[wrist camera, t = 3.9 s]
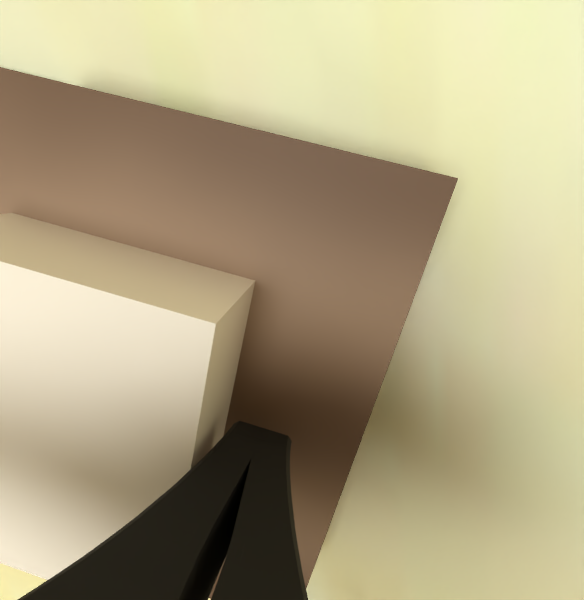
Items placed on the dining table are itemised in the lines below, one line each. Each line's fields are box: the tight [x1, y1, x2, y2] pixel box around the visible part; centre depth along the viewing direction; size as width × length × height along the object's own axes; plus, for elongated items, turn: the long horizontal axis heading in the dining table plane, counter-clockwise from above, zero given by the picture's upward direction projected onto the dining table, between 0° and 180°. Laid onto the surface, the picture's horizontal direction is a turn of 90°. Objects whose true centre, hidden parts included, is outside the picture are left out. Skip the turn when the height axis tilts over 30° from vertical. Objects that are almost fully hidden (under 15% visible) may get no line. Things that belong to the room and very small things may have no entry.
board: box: [0, 67, 458, 598], centre depth 11 cm, size 14×10×3 cm
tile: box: [0, 213, 255, 580], centre depth 9 cm, size 8×6×2 cm
